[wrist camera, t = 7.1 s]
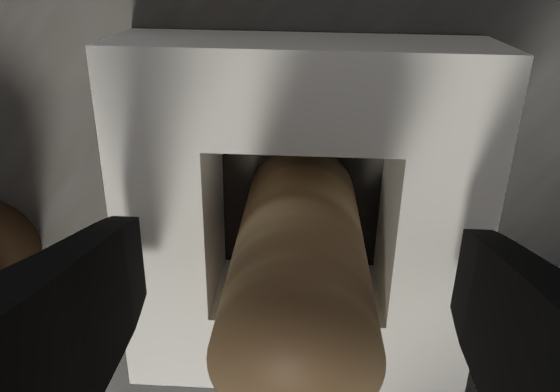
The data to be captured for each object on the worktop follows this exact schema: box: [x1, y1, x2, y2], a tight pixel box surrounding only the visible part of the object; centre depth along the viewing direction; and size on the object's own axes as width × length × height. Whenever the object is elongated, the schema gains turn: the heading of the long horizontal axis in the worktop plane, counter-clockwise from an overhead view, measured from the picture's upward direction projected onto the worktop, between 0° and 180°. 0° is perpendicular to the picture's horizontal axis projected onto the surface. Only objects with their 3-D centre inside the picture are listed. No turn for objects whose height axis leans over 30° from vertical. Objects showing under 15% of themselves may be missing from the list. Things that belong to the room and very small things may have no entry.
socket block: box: [85, 28, 534, 392], centre depth 14 cm, size 9×9×3 cm
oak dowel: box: [206, 155, 386, 392], centre depth 12 cm, size 3×3×7 cm
